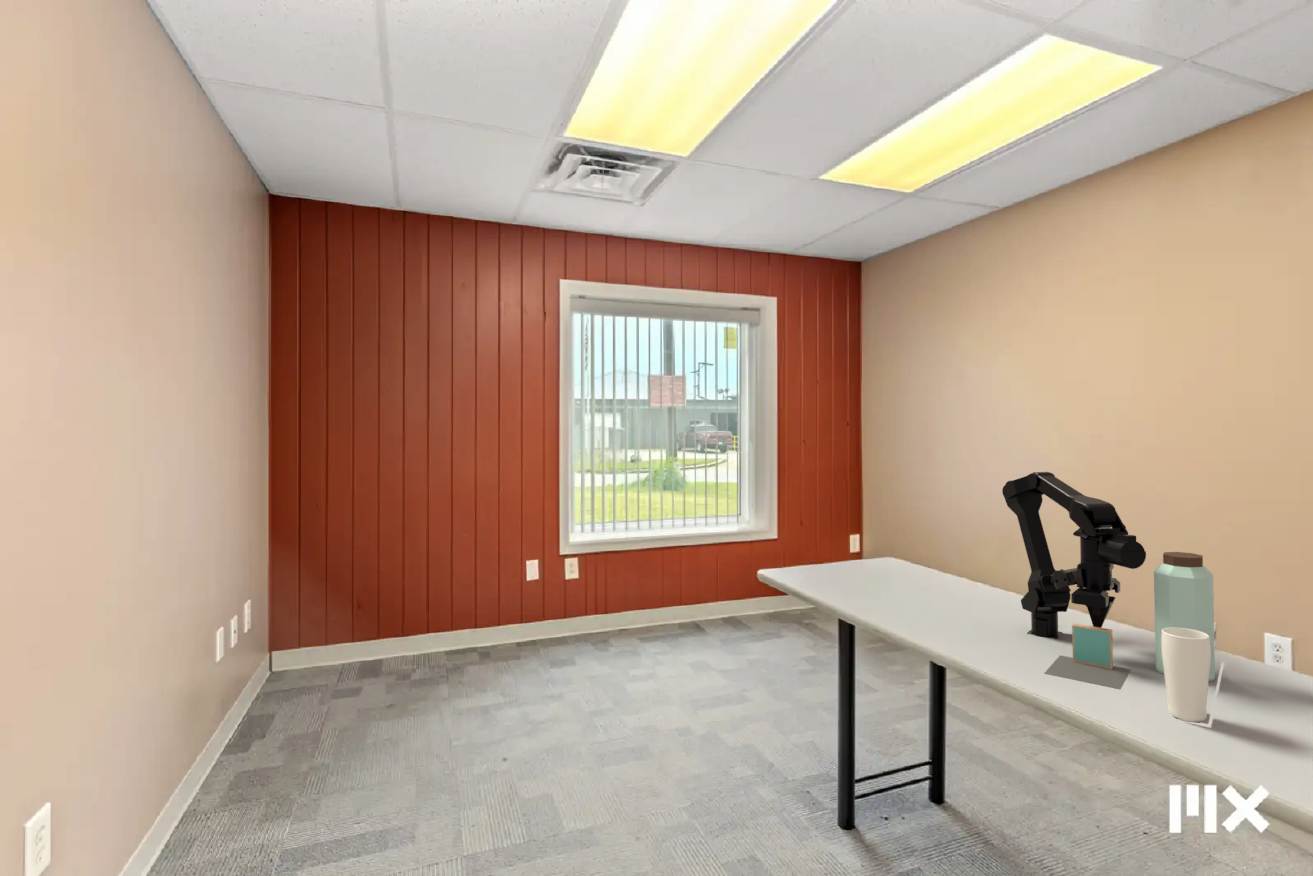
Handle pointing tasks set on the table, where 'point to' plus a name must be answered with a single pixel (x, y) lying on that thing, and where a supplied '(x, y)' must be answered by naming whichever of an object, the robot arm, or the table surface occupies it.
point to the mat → (1088, 672)
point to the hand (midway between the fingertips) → (1097, 629)
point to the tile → (1092, 645)
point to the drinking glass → (1186, 672)
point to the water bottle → (1183, 599)
